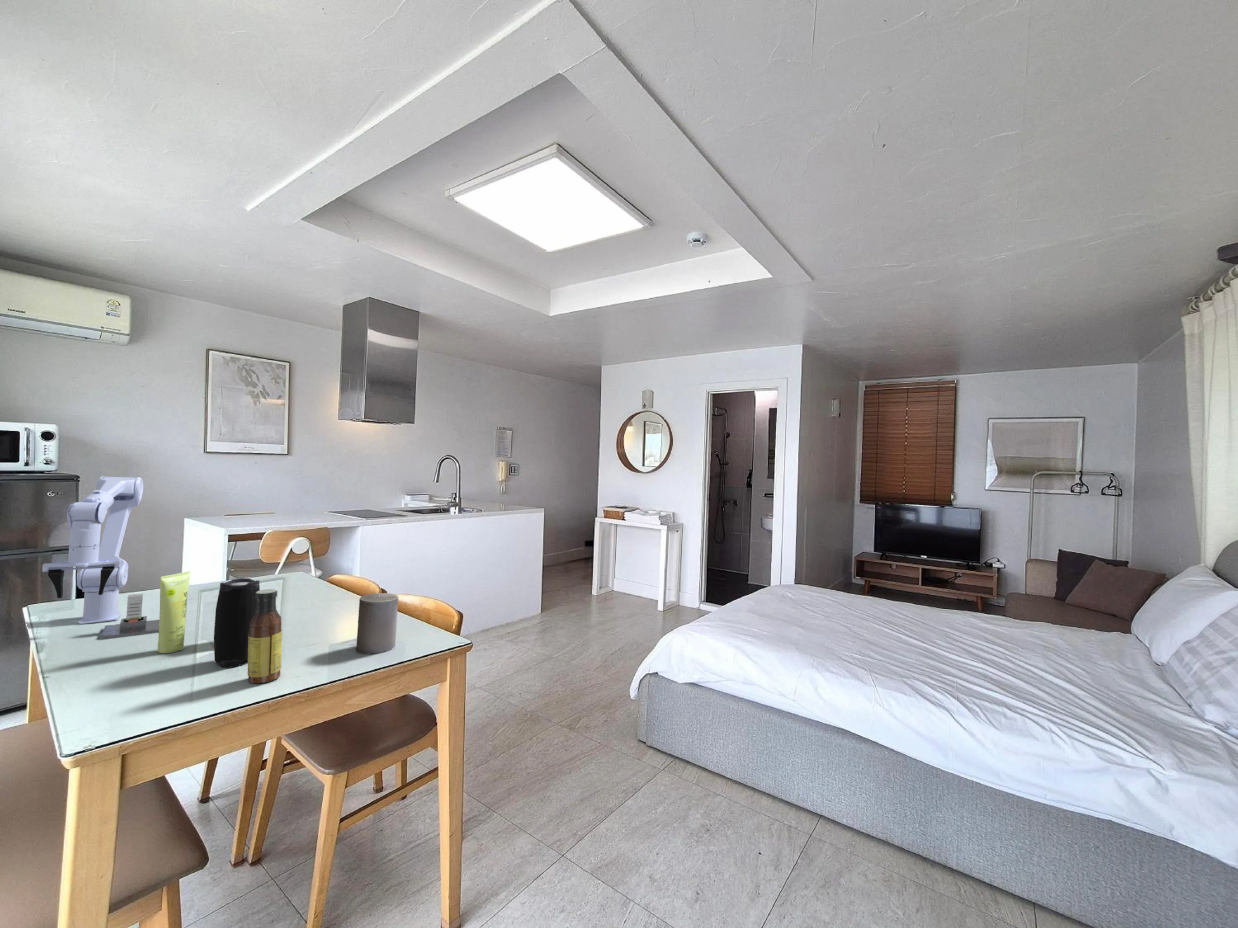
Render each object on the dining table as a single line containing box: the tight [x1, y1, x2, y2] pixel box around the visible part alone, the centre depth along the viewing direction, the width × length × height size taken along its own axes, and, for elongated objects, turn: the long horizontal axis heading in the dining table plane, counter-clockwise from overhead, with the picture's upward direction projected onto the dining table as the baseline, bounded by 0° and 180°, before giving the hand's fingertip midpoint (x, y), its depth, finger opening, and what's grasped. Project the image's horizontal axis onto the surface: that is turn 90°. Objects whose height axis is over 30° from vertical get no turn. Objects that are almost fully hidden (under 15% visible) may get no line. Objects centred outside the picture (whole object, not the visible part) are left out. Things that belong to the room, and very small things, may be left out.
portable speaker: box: [213, 577, 261, 668], centre depth 123 cm, size 9×9×20 cm
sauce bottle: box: [247, 588, 283, 685], centre depth 113 cm, size 7×6×20 cm
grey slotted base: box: [100, 615, 159, 640], centre depth 142 cm, size 12×12×4 cm
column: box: [125, 593, 144, 620], centre depth 142 cm, size 3×3×6 cm
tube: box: [157, 570, 191, 654], centre depth 128 cm, size 6×5×20 cm
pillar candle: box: [355, 591, 399, 655], centre depth 136 cm, size 10×10×15 cm
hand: (80, 595), depth 138 cm, fingers open, 7 cm apart
